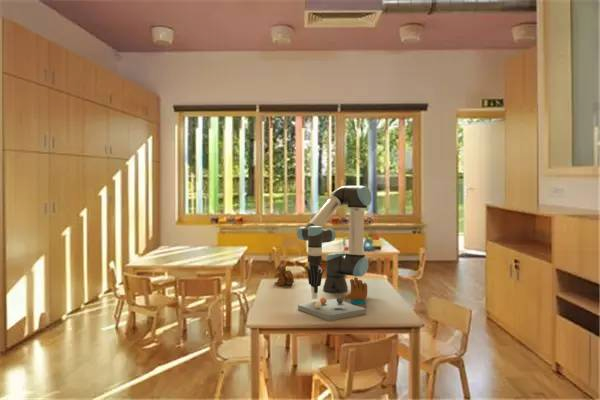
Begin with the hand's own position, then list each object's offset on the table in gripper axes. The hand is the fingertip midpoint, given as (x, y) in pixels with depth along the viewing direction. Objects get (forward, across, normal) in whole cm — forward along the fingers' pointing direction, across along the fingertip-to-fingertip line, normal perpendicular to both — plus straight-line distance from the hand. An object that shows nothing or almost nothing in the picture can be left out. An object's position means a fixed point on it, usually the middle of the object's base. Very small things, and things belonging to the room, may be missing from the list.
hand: (314, 298), depth 269 cm
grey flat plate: (+4, +15, 0) cm, 15 cm away
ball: (0, +8, 0) cm, 8 cm away
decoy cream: (0, +14, -8) cm, 16 cm away
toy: (+4, +9, +22) cm, 24 cm away
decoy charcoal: (0, +12, +8) cm, 14 cm away
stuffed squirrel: (+4, -56, +18) cm, 59 cm away
